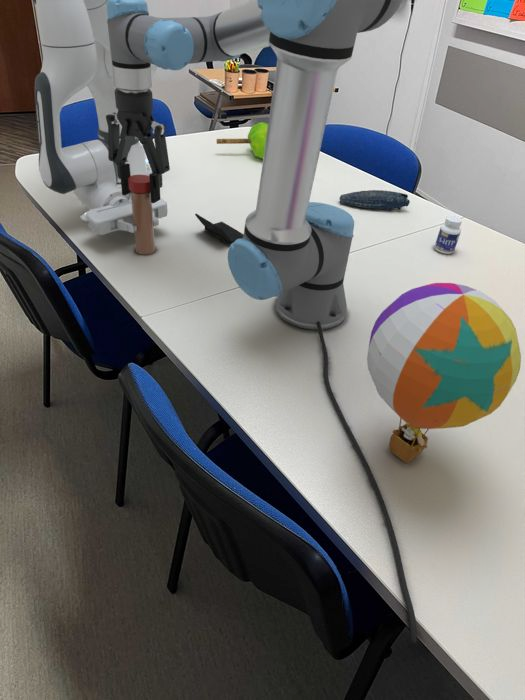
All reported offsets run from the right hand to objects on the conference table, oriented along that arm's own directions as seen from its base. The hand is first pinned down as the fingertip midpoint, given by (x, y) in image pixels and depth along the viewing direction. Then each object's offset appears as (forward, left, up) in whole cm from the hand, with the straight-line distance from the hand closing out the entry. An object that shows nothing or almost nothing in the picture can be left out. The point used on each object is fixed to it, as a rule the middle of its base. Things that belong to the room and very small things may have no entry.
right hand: (141, 197), depth 120 cm
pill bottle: (+23, -76, -14) cm, 80 cm away
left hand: (-1, -1, -7) cm, 7 cm away
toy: (-53, -60, -14) cm, 81 cm away
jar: (0, 0, -14) cm, 14 cm away
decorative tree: (+79, -15, -14) cm, 82 cm away
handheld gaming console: (+12, -16, -14) cm, 25 cm away
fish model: (+46, -57, -14) cm, 75 cm away
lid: (0, 0, +4) cm, 4 cm away
